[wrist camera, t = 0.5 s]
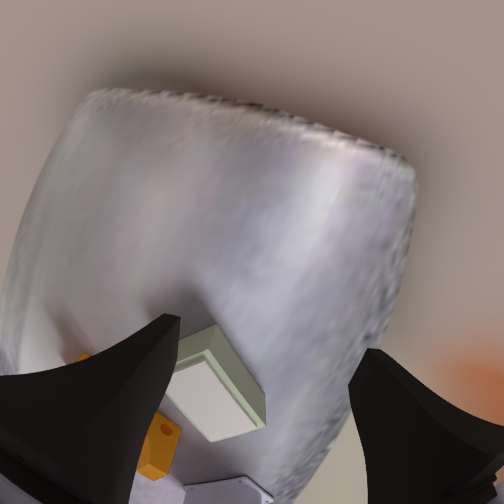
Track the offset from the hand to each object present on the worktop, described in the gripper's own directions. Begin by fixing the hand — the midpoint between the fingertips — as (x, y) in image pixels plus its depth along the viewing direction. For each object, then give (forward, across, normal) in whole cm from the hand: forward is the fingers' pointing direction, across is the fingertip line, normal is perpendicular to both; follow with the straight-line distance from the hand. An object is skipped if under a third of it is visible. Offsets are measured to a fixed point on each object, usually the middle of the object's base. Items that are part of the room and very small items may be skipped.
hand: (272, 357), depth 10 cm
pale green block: (+9, +2, +10) cm, 14 cm away
